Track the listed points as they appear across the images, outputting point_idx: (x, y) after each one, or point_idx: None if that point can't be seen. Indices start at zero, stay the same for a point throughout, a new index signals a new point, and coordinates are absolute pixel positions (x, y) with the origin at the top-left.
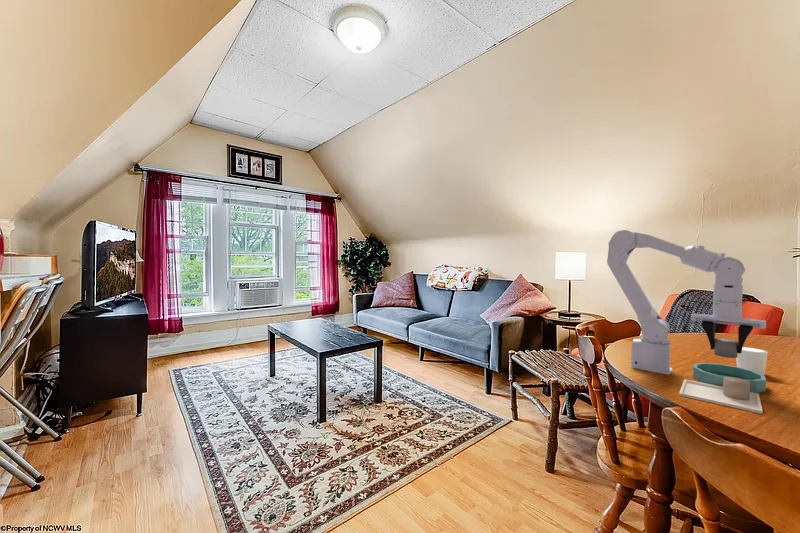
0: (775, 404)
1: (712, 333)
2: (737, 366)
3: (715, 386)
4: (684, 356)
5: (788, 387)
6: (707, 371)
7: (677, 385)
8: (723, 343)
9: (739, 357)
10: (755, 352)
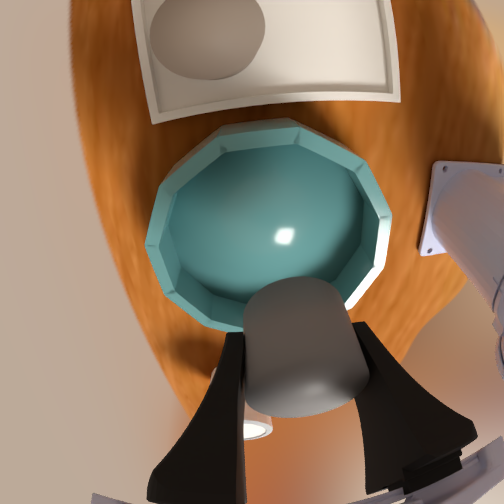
0: (112, 106)
1: (400, 405)
2: None
3: (294, 91)
4: None
5: (147, 323)
6: (331, 284)
7: (403, 58)
8: (323, 348)
9: None
10: None
